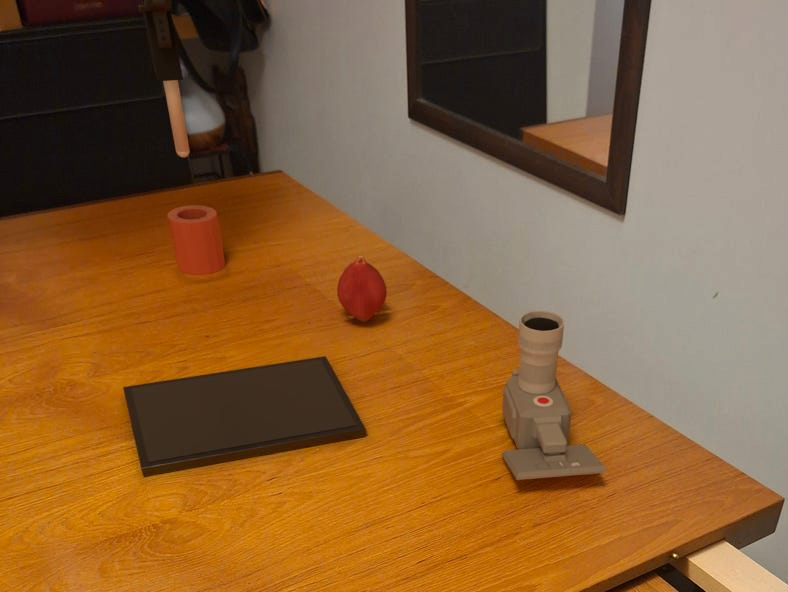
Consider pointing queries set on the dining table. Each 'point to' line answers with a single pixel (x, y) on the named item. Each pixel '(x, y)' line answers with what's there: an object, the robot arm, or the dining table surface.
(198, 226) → the pen pot
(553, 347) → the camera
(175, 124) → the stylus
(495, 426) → the dining table surface
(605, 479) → the dining table surface
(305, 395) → the tablet
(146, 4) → the robot arm
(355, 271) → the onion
